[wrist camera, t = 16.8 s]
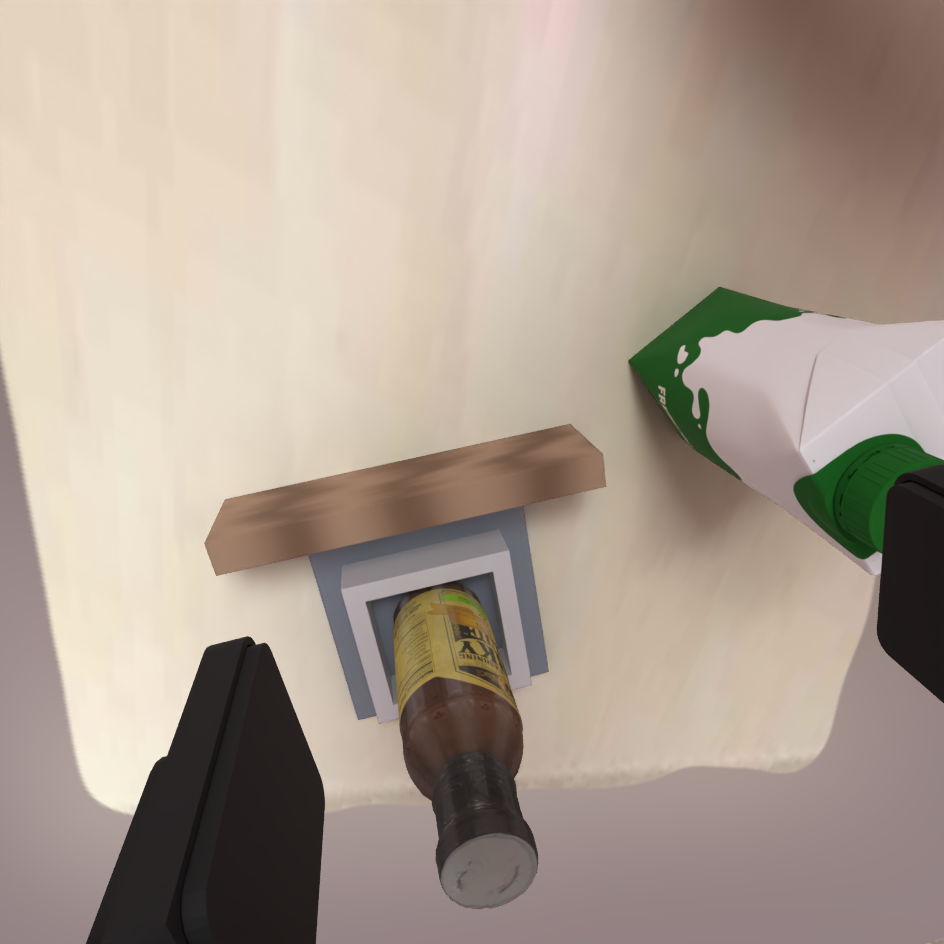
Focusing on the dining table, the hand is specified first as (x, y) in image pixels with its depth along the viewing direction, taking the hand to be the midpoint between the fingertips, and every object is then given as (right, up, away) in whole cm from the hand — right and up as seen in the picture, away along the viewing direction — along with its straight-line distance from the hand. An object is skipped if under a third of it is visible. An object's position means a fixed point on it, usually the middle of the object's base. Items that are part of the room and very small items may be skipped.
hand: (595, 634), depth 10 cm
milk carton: (+13, +9, +33) cm, 36 cm away
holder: (-4, -7, +36) cm, 37 cm away
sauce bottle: (-4, -7, +35) cm, 36 cm away
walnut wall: (-6, +2, +32) cm, 33 cm away
